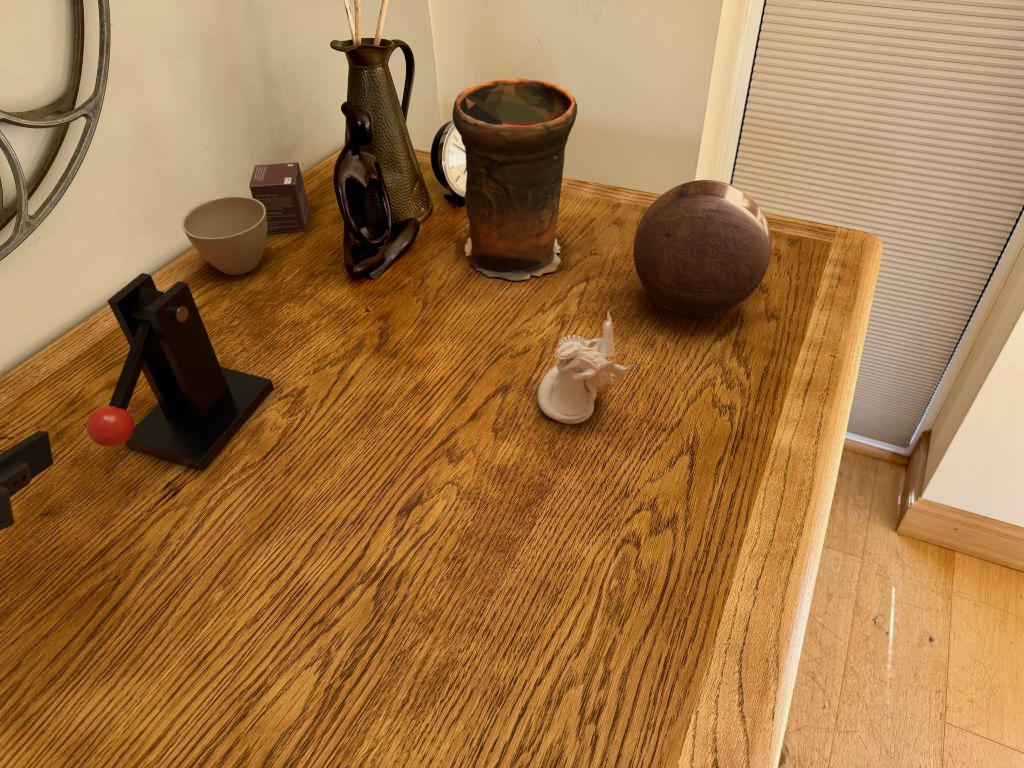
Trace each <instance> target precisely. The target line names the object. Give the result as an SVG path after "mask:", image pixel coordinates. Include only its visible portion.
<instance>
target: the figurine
mask: <svg viewBox="0 0 1024 768" xmlns="http://www.w3.org/2000/svg"><path fill="white" fill-rule="evenodd" d="M606 315H607V316H606V317H607V318H606V319H607V320H606V319H604V321H603V324H602V331H601V332H602V337H595V338H591V339H587V340H586V339H585V338H584V337H582V336H581V335H577V338H576V335H575V334H572V337H571V335H567V337H566V336H564V337H562V339H560V340H559V343H558V345H559V347H558V348H557V349H556V350H555V352H554V353H553V356H554V358H555V359H556V360H558V361H559V362H557V363H556V364H555V365H554V366H553V367H552V368H550V370H549V371H547V372H546V373H545V374H544V376H543V378H542V379H541V381H540V383H539V386H538V390H537V403H538V406H539V408H540V410H541V411H542V412H543V414H545V415H546V416H547V417H549V418H550V419H553V420H555V421H557V422H560V423H562V424H568V425H573V424H580V423H583V422H585V421H586V420H588V419H589V418H590V417H592V415H593V413H594V410H595V407H594V406H595V403H594V402H595V401H596V398H597V394H598V387H601V386H602V385H604V384H607V385H610V384H611V383H613V382H615V380H614V377H616V378H617V379H618V380H619V382H620V383H621V382H622V381H623V378H624V377H625V376H626V375H627V374H628V372H629V371H630V370H631V369H632V368H633V367H635V365H636V363H632V364H631V365H628V366H623V365H621V364H618V363H617V355H616V347H615V335H614V327H613V322H612V317H611V315H610V312H609V311H608V310H607V314H606ZM581 337H582V338H581ZM590 344H594V345H592V347H589V345H590ZM608 357H614V359H613V360H609V361H608V359H607V358H608Z"/></svg>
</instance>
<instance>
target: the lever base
mask: <svg viewBox="0 0 1024 768" xmlns="http://www.w3.org/2000/svg"><path fill="white" fill-rule="evenodd" d="M189 286H190V285H189V283H188V282H186V281H185V282H184V281H180V280H178V281H176V283H174V284H173V285H172V286H171V287H169V288H168V289H167V290H166V291H165V292H164V294H163V295H161V296H160V297H159V298H158V299H157V300H156V301H154V302H153V303H152V304H151V305H150V306H148V307H147V308H146V309H145V311H146V313H147V315H148V318H149V320H150V322H151V324H152V326H153V328H154V331H155V335H154V338H153V341H152V343H151V346H150V349H149V352H148V354H147V357H146V360H145V362H144V365H143V368H142V370H141V372H142V373H143V375H144V377H145V379H146V381H147V383H148V385H149V387H150V389H151V391H152V394H153V395H154V398H155V399H156V401H157V404H156V405H155V406H154V407H153V408H152V409H151V410H150V411H149V412H148V413H147V414H146V415H145V416H144V417H143V418H142V419H141V420H140V421H139V422H138V423H137V424H136V425H134V431H133V434H132V436H131V437H130V438H129V440H127V441H126V442H125V443H124V444H125V446H126V447H127V448H128V449H131V450H133V451H137V452H140V453H144V454H146V455H151V456H154V457H157V458H160V459H163V460H167V461H170V462H173V463H177V464H180V465H182V466H183V465H184V466H186V467H190V468H192V469H193V468H194V469H196V470H198V471H199V470H200V471H205V470H206V469H207V467H208V466H209V465H210V464H211V463H212V462H213V461H214V460H215V458H216V457H217V456H218V455H219V453H220V452H221V451H222V450H223V449H224V447H225V446H226V445H227V444H228V443H229V441H231V439H232V438H233V437H234V436H235V435H236V434H237V433H238V432H239V430H240V429H241V428H242V426H243V425H244V424H245V423H246V422H247V421H248V420H249V418H250V417H251V416H252V415H253V414H254V412H255V411H256V410H257V409H258V408H259V407H260V405H262V403H263V402H264V401H265V400H266V399H267V397H268V396H269V395H270V394H271V392H273V390H275V387H274V383H273V381H272V379H270V378H266V377H262V376H259V375H255V374H250V373H247V372H243V371H239V370H235V369H231V368H227V367H225V366H224V367H223V366H221V365H220V362H219V360H218V357H217V354H216V351H215V350H214V347H213V344H212V342H211V339H210V337H209V334H208V332H207V328H206V326H205V323H204V322H203V319H202V316H201V314H200V311H199V309H198V306H197V304H196V302H195V299H194V296H193V294H192V292H191V289H190V287H189ZM141 287H146V288H150V289H154V290H158V289H157V287H156V283H155V282H154V280H153V277H152V275H151V274H148V273H145V272H141V273H140V274H139V275H137V276H136V277H134V279H132V280H131V281H130V282H128V283H127V284H126V285H125V286H124V287H122V288H121V289H120V290H119V291H117V292H116V293H114V294H113V295H112V296H111V297H110V298H109V299H107V300H106V301H107V303H108V305H109V307H110V310H111V312H112V313H113V315H114V318H115V319H116V321H117V323H118V325H119V327H120V329H121V331H122V334H123V335H124V337H125V339H126V341H127V344H128V345H129V348H131V345H132V342H133V340H134V337H135V334H136V332H137V329H138V326H139V324H140V320H138V319H136V318H134V317H131V313H132V310H133V308H134V305H135V302H136V300H137V297H138V295H139V292H140V289H141Z"/></svg>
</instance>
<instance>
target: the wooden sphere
mask: <svg viewBox="0 0 1024 768" xmlns="http://www.w3.org/2000/svg"><path fill="white" fill-rule="evenodd" d="M637 225H638V226H637V229H636V231H635V235H634V241H633V249H632V250H633V253H632V254H633V263H634V268H635V271H636V274H637V276H638V279H639V281H640V283H641V285H642V286H643V288H644V289H645V290H646V292H647V294H649V295H650V296H651V298H652V299H654V301H656V302H657V303H658V304H659V305H661V306H663V307H664V308H666V309H668V310H670V311H672V312H675V313H678V314H681V315H685V316H690V317H708V316H715V315H717V314H722V313H725V312H727V311H730V310H731V309H734V308H735V307H737V306H738V305H740V304H741V303H743V302H744V301H745V300H747V299H748V298H749V297H750V296H751V295H752V294H753V293H754V292H755V291H756V290H757V289H758V287H759V286H760V285H761V282H763V279H764V278H765V276H766V274H767V272H768V269H769V265H770V261H771V258H772V250H773V243H772V241H773V239H772V232H771V228H770V224H769V221H768V219H767V217H766V215H765V213H764V211H763V210H762V208H761V207H760V205H759V204H758V203H757V201H755V200H754V198H753V197H752V196H751V195H749V194H748V193H746V192H745V191H744V190H742V189H740V188H739V187H737V186H735V185H732V184H730V183H727V182H723V181H720V180H714V179H713V180H712V179H699V180H692V181H688V182H685V183H681V184H679V185H676V186H674V187H672V188H670V189H668V190H667V191H666V192H664V193H662V194H661V195H660V196H658V197H657V198H656V200H654V201H653V202H652V203H651V205H649V207H648V208H647V209H646V211H645V212H644V214H643V216H642V217H641V219H640V221H639V223H638V224H637Z"/></svg>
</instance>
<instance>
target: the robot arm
mask: <svg viewBox="0 0 1024 768" xmlns="http://www.w3.org/2000/svg"><path fill="white" fill-rule="evenodd" d="M53 465H54V458H53V452H52V447H51V440H50V434H49V431H44V430H37V431H35V432H34V433H32V434H30V435H29V436H27V437H26V438H24V439H22V440H20V441H19V442H17V443H15V444H14V445H13V446H10V447H9V448H7V449H5V450H4V451H2V452H0V531H2V530H6V529H7V528H10V527H11V526H13V525H14V524H15V517H14V512H13V507H12V502H11V498H12V497H13V496H15V495H16V494H17V493H19V492H20V491H22V490H23V489H24V488H26V487H28V486H29V485H30V484H31V482H32V481H33V479H34V478H36V477H37V476H39V475H41V474H42V473H43V472H44V471H46V470H47V469H50V467H52V466H53Z"/></svg>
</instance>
